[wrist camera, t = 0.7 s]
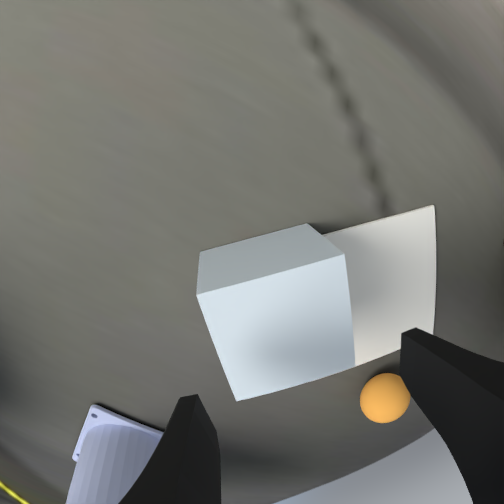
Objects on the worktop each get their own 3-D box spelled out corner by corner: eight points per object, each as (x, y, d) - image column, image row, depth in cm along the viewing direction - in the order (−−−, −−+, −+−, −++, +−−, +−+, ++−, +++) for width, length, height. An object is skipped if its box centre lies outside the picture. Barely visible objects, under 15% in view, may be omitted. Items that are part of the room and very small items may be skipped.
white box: (323, 315, 19) (355, 366, 14) (229, 341, 19) (236, 401, 14) (307, 223, 17) (344, 254, 12) (199, 252, 17) (196, 294, 12)
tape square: (431, 333, 21) (432, 334, 21) (310, 379, 21) (311, 381, 20) (432, 204, 18) (434, 205, 18) (283, 245, 17) (284, 246, 17)
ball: (374, 404, 23) (393, 435, 19) (343, 394, 22) (360, 429, 18) (404, 370, 22) (428, 399, 18) (375, 357, 21) (398, 390, 17)
